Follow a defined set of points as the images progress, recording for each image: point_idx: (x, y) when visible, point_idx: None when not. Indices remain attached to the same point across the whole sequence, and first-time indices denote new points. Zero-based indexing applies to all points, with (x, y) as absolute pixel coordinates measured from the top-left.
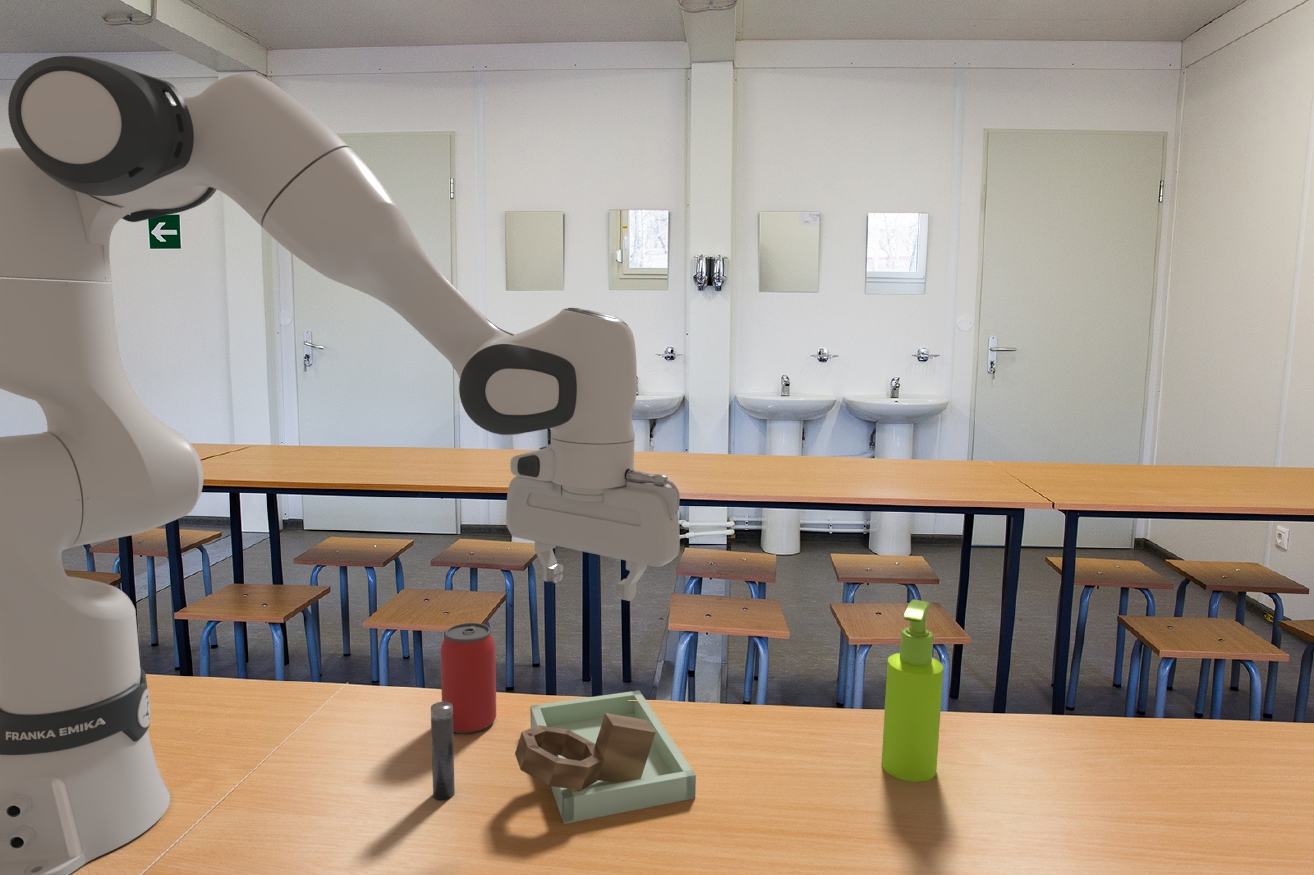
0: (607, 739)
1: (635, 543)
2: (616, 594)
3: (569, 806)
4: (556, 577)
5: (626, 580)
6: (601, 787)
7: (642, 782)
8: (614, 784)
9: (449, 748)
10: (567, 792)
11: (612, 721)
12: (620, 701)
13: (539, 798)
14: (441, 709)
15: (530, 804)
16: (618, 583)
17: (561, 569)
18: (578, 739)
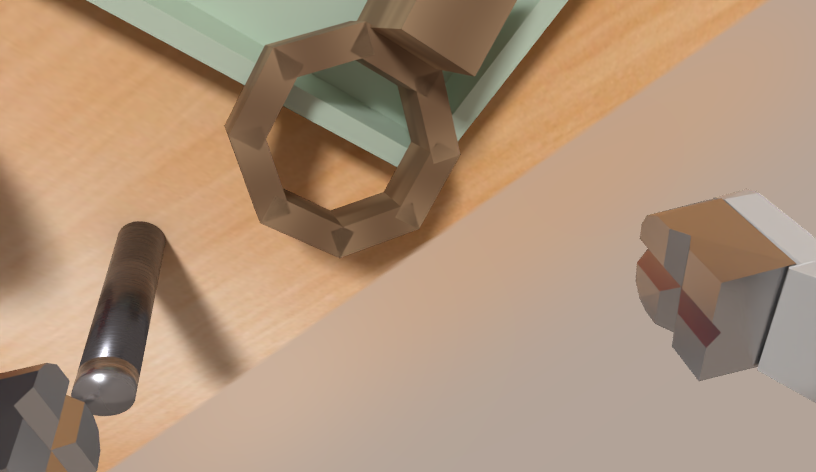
0: (448, 68)
1: None
2: (654, 318)
3: None
4: (82, 450)
5: (814, 395)
6: (467, 105)
7: (538, 25)
8: (485, 76)
9: (149, 315)
10: None
11: (456, 56)
12: None
13: (298, 120)
14: (120, 402)
15: (301, 145)
16: (713, 374)
17: (35, 452)
18: (331, 62)
